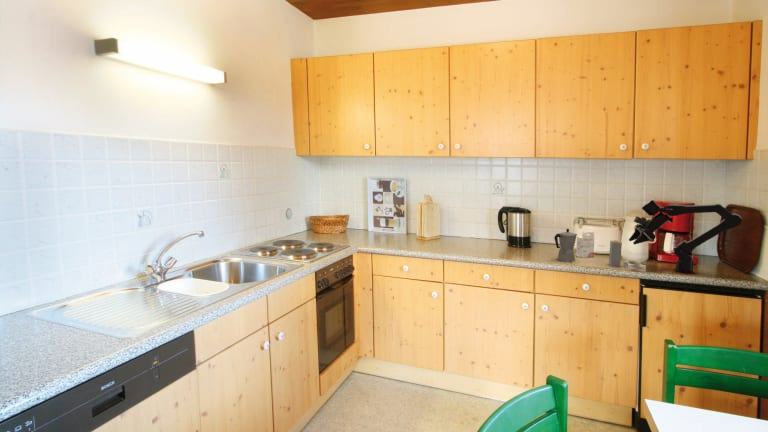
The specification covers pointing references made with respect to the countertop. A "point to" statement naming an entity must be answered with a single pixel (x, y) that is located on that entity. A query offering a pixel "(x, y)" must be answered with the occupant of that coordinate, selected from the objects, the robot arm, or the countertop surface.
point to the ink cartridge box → (585, 245)
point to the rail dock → (634, 266)
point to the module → (615, 253)
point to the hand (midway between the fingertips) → (631, 242)
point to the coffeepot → (566, 246)
